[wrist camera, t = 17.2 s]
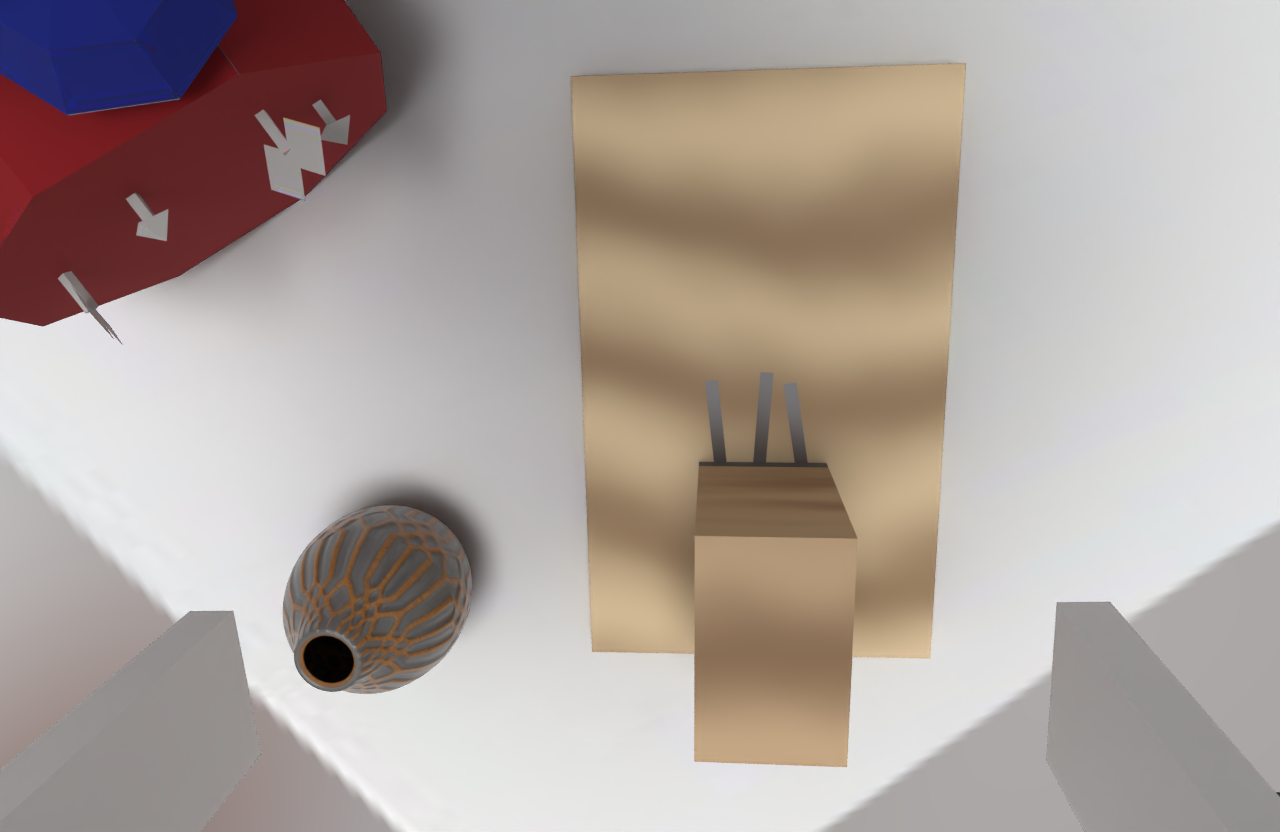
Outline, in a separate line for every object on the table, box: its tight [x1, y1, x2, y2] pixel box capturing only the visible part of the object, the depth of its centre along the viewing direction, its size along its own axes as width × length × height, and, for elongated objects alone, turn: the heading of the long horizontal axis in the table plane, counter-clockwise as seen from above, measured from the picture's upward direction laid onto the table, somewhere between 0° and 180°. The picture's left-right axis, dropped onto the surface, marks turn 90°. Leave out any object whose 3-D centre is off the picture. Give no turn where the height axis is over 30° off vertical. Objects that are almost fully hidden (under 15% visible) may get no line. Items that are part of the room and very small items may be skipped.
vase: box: [283, 505, 472, 694], centre depth 35 cm, size 7×7×9 cm
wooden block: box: [694, 462, 858, 767], centre depth 33 cm, size 8×5×8 cm, turn 1°
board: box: [571, 63, 966, 658], centre depth 36 cm, size 23×14×1 cm, turn 1°
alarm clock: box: [0, 0, 387, 344], centre depth 26 cm, size 15×9×20 cm, turn 125°
